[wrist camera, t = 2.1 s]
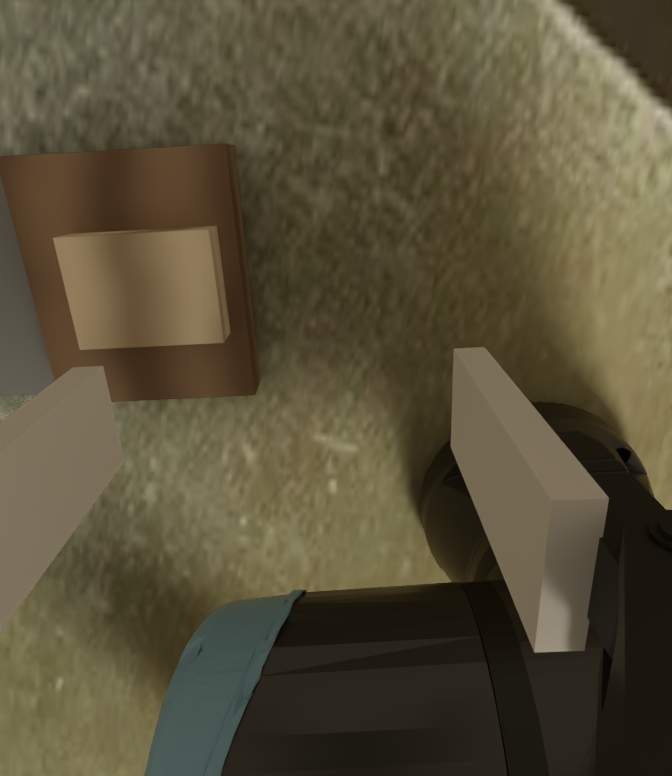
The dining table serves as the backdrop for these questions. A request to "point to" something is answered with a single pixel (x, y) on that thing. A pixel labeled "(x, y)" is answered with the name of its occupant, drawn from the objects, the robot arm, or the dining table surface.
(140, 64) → the dining table surface
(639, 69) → the dining table surface
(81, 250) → the birch tile
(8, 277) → the slate mat
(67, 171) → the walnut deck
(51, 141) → the dining table surface
